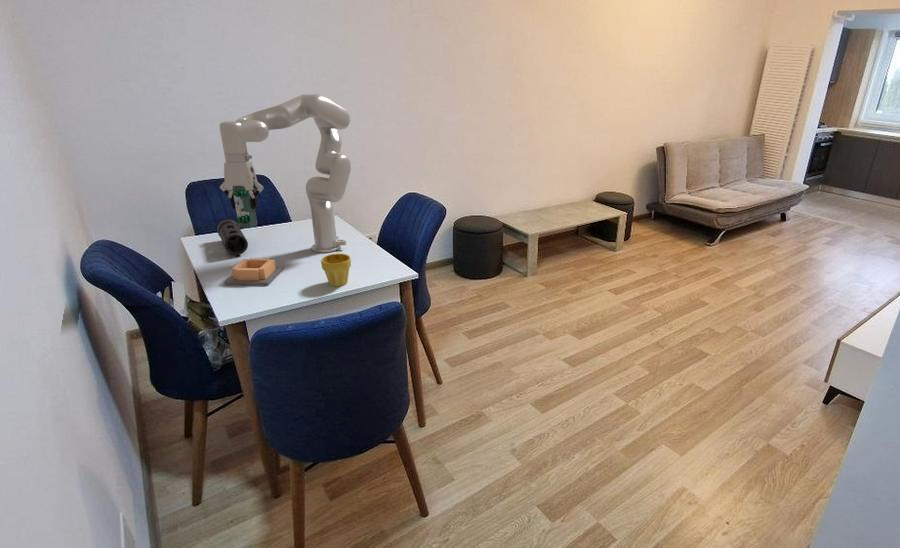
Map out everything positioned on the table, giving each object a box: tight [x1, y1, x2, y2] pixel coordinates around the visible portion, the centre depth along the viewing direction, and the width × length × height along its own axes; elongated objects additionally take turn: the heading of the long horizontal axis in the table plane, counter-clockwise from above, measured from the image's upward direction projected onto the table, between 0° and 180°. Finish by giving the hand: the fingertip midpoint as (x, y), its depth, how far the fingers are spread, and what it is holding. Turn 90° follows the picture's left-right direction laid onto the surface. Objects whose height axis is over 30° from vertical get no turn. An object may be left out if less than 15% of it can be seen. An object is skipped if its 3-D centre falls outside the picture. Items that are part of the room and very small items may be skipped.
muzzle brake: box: [216, 219, 249, 257], centre depth 203 cm, size 10×28×10 cm, turn 31°
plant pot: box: [320, 253, 352, 287], centre depth 167 cm, size 10×10×10 cm
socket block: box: [223, 257, 285, 287], centre depth 173 cm, size 16×16×5 cm
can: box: [232, 186, 258, 229], centre depth 167 cm, size 6×6×15 cm
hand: (245, 207), depth 167 cm, fingers closed on can, 6 cm apart
